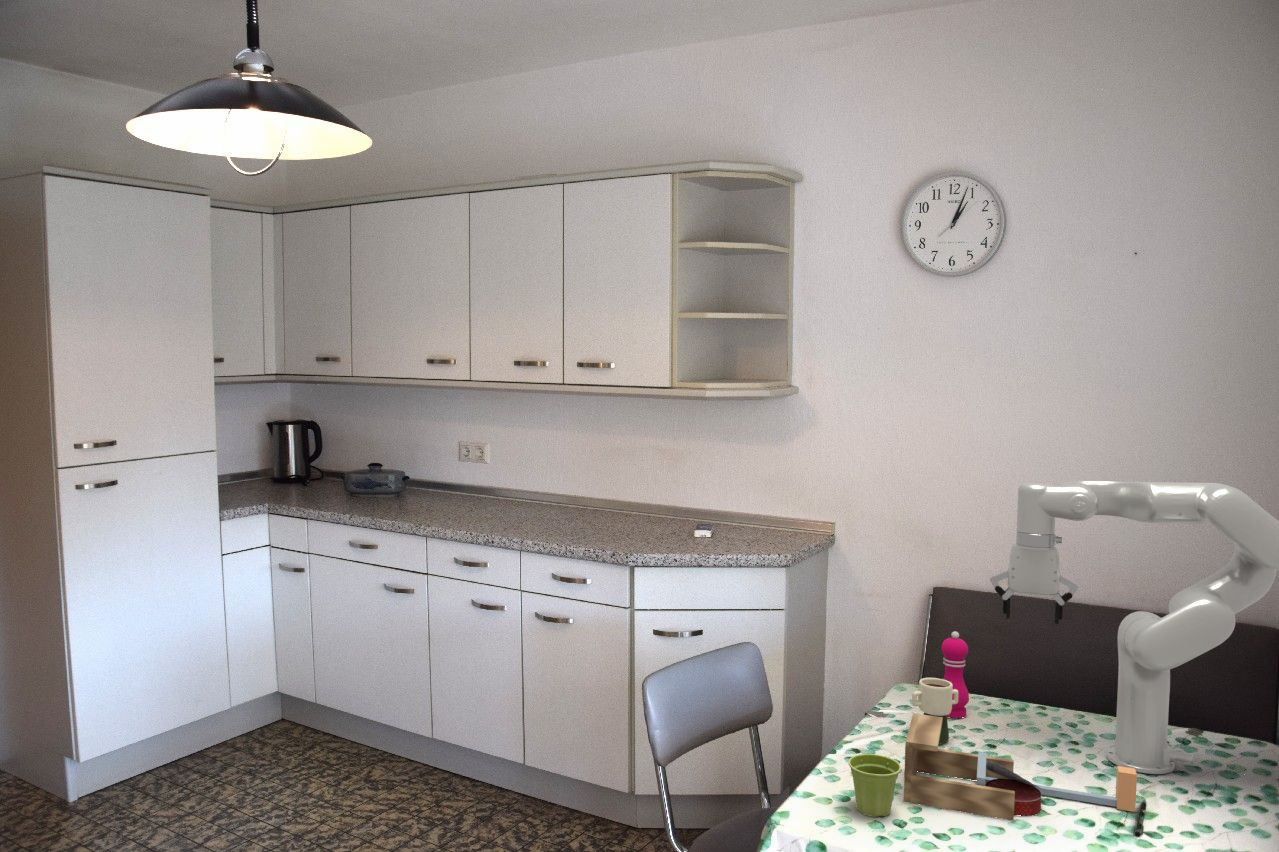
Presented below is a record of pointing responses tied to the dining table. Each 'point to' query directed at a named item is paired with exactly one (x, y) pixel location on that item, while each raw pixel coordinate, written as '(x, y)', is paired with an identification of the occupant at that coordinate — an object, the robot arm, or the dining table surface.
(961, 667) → the pepper mill
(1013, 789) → the canned food
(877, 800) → the plant pot
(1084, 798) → the pull rod
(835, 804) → the dining table surface
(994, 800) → the shelf lane
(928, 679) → the character mug
